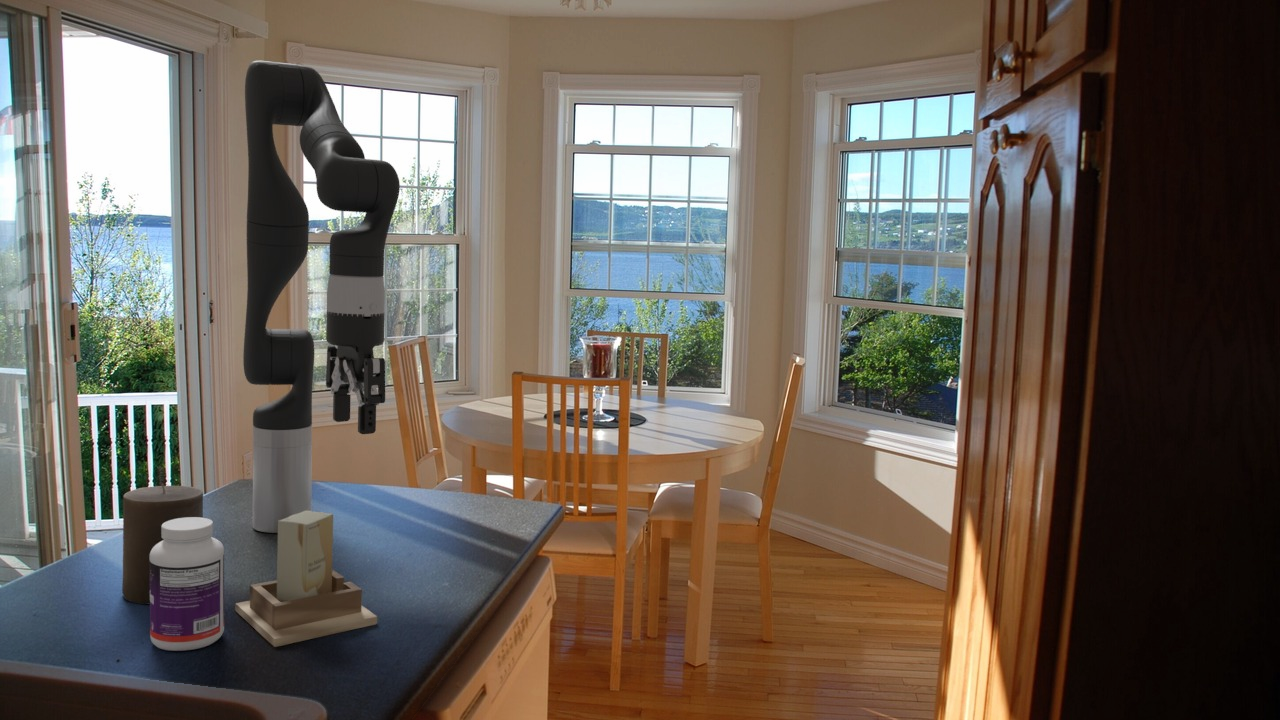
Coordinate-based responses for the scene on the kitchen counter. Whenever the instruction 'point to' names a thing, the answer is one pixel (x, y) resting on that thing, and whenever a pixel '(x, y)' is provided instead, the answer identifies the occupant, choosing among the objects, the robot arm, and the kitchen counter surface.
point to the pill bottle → (186, 586)
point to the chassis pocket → (305, 612)
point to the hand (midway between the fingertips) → (353, 427)
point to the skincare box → (304, 555)
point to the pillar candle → (151, 530)
